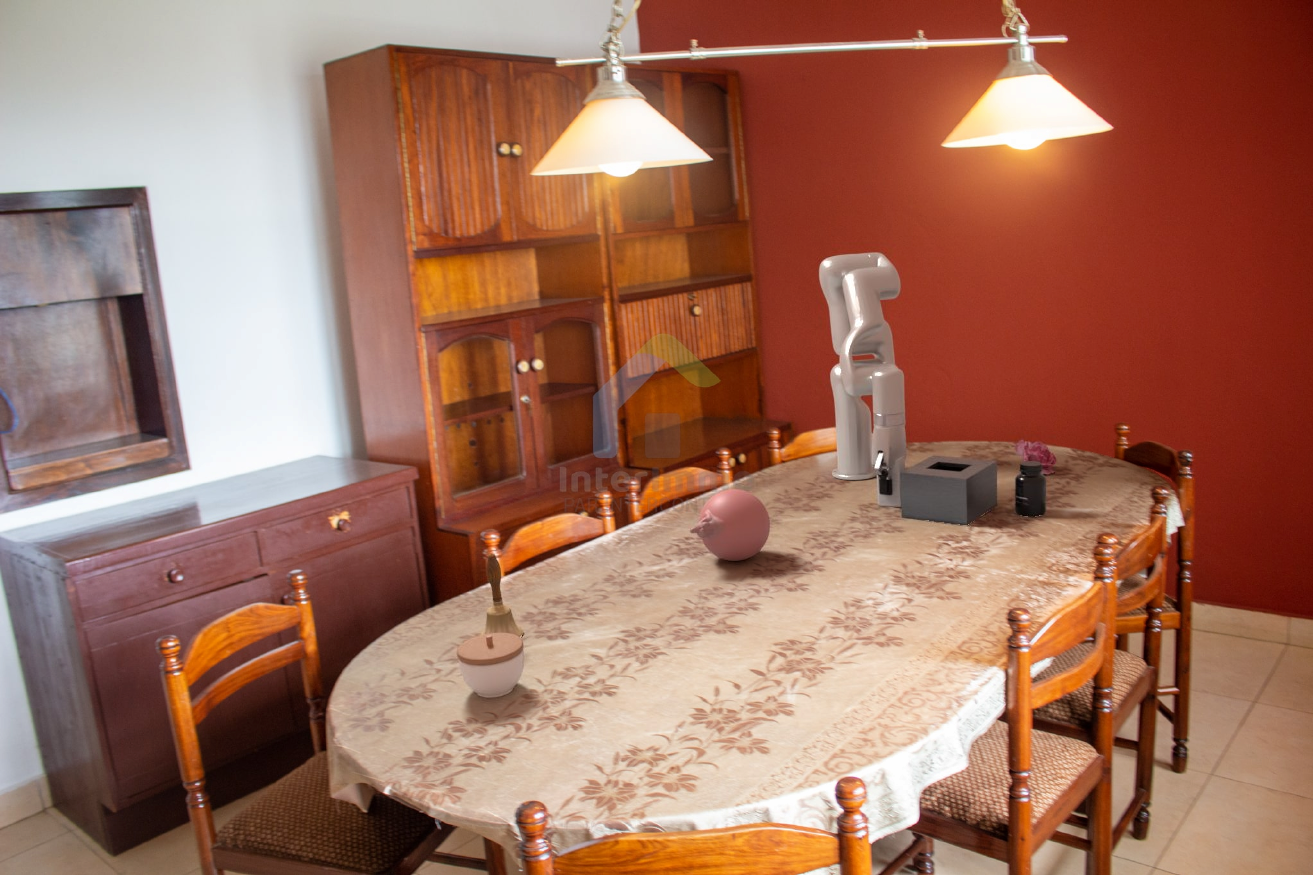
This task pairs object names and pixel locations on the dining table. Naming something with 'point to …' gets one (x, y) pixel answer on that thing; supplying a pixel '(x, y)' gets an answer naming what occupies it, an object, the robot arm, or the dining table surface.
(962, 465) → the slot box
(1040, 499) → the supplement bottle
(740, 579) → the dining table surface
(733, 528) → the pink party balloon
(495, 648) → the lidded jar
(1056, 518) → the dining table surface
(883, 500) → the skincare box
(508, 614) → the hand bell
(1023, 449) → the flower
